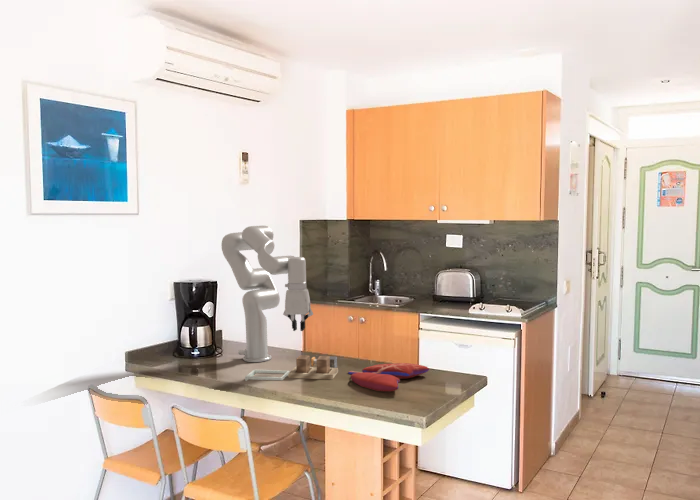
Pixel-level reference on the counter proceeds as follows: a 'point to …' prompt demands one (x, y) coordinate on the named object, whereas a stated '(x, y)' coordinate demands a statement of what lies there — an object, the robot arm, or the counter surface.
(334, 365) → the grey metal housing
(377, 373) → the anatomical model
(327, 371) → the block
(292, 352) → the counter surface
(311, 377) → the pallet
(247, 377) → the tote
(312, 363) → the plunger
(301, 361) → the block
